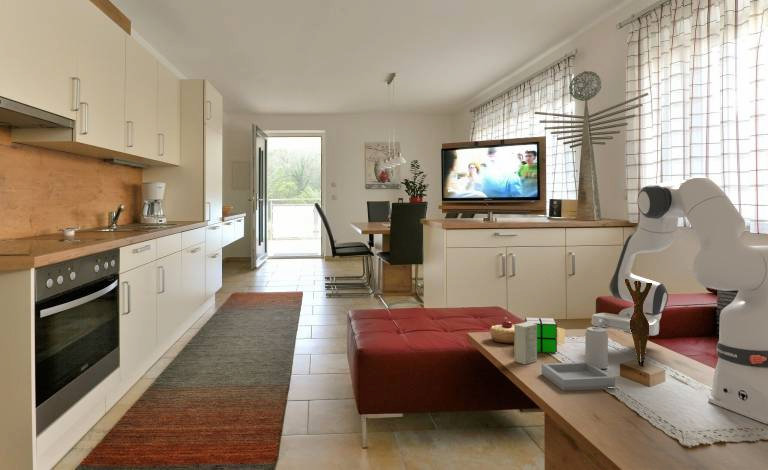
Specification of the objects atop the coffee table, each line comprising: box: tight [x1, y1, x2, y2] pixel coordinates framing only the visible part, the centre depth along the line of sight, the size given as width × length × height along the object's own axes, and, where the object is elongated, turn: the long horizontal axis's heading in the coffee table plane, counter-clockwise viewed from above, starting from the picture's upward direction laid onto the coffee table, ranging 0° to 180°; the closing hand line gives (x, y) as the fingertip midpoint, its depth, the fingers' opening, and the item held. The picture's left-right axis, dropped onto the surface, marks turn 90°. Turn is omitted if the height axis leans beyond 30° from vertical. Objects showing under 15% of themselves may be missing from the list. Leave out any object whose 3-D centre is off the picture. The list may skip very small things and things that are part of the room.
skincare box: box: [513, 321, 538, 365], centre depth 162 cm, size 6×4×12 cm
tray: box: [541, 361, 616, 392], centre depth 143 cm, size 14×14×3 cm
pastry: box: [489, 316, 515, 344], centre depth 188 cm, size 12×12×9 cm
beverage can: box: [584, 326, 609, 370], centre depth 155 cm, size 6×6×12 cm
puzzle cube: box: [524, 317, 558, 354], centre depth 177 cm, size 10×10×10 cm
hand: (613, 327), depth 163 cm, fingers open, 8 cm apart
